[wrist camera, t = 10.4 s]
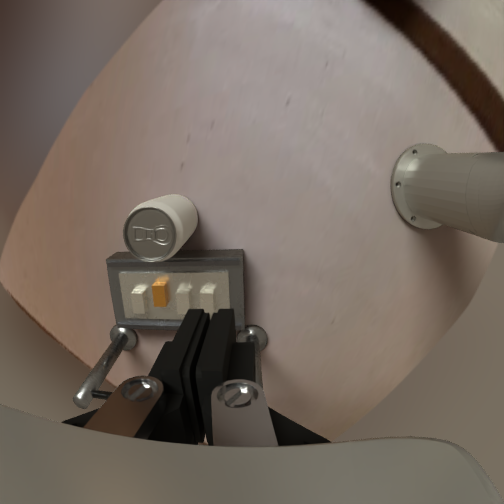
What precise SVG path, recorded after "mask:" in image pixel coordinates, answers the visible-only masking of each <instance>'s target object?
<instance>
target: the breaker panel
mask: <svg viewBox="0 0 504 504" xmlns="http://www.w3.org/2000/svg"><path fill="white" fill-rule="evenodd" d="M106 263H107V270H108V277H109V284H110V290H111V297H112V302H113V308H114V314H115V319H116V324H117V328H128V329H153V330H178V329H179V327H180V325H181V323H182V321H183V319H184V317H185V315H186V313H187V311H188V309H204V312H205V313H209V314H210V321H211V317H212V314H213V313H218V309H232V308H233V309H234V314H235V329H236V330H245V310H244V273H243V249H228V250H183V251H177V252H176V253H175V254H174V255H173V256H172V257H170V258H169V259H167V260H164V261H161V262H144V261H141V260H139V259H137V258H136V257H134V256H133V255H132V254H131V253H130V252H116V253H115V254H113V255H112V256H110V257H109V258H107V259H106Z"/></svg>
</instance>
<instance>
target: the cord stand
mask: <svg viewBox="0 0 504 504" xmlns="http://www.w3.org/2000/svg"><path fill="white" fill-rule="evenodd" d="M110 338H111V341H112V343H111V344H110V345H109V347H108V348H107V350H106V351H105V352H104V354H103V355H102V357H101V358H100V359H99V361H98V362H97V364H96V365H95V367H94V368H93V369H92V371H91V372H90V374H89V375H88V377H87V378H86V380H85V381H84V382H83V384H82V385H81V387H80V388H79V390H78V391H77V393H76V394H75V396H74V397H73V401H74V403H75V404H76V405H77V406H78V407H79V408H82V409H86V408H87V407H88V406H89V404H90V402H91V401H92V399H93V398H98V399H105V400H107V399H108V398H109V396H110V395H111V394H112V393H113V392H106V391H99V390H98V389H99V387H100V386H101V384H102V382H103V381H104V379H105V378H106V376H107V374H108V373H109V371H110V369H111V368H112V366H113V365H114V363H115V361H116V360H117V358H118V357H119V355H120V354H121V352H122V350H130V349H132V348H133V347H134V346H135V344H136V342H137V335H136V332H135V331H134V330H133V329H128V328H117V325H115V326H114V327H113V328H112V330H111V331H110ZM237 342H254V343H255V365H256V383H257V384H258V385H259V386H260V387H261V388H262V389H263V383H262V371H261V358H260V351H261V350H263V349H264V348H265V346H266V344H267V334H266V332H265V331H264V329H263V328H261V327H259V326H257V325H248V326H245V330H240V331H239V333H238V335H237Z"/></svg>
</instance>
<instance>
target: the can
mask: <svg viewBox="0 0 504 504" xmlns="http://www.w3.org/2000/svg"><path fill="white" fill-rule="evenodd" d="M197 223H198V216H197V211H196V208H195V206H194V205H193V203H192V202H191V201H190V200H189V199H188V198H186V197H184V196H182V195H178V194H170V195H166V196H162V197H159V198H155V199H152V200H149V201H146V202H144V203H141V204H140V205H138V206H137V207H135V208H134V209H133V210H132V211H131V213H130V214H129V216H128V218H127V220H126V222H125V224H124V229H123V237H124V242H125V245H126V247H127V249H128V250H129V251H130V253H131V254H132V255H133V256H134V257H136V258H137V259H139V260H141V261H144V262H161V261H164V260H167V259H169V258H170V257H172V256H173V255H174V254H175V253H176V252H177V251H178V250H179V249H180V248H181V247H182V246H183V245H184V243H185V242H186V241H187V240H188V239H189V237H190V236H191V235H192V234H193V232H194V231H195V229H196V227H197Z"/></svg>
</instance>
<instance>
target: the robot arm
mask: <svg viewBox="0 0 504 504" xmlns="http://www.w3.org/2000/svg"><path fill="white" fill-rule="evenodd" d="M412 151H413V153H412ZM396 183H397V186H396ZM391 193H392V198H393V201H394V204H395V206H396V209H397V211H398V212H399V213H400V215H401V216H402V217H403V218H404V219H405V220H406V221H407V222H408V223H410V224H411V225H413V226H415V227H418V228H421V229H434V228H438V227H440V226H442V225H446V226H449V227H452V228H455V229H458V230H461V231H464V232H467V233H470V234H473V235H476V236H479V237H481V238H484V239H488V240H490V241H493V242H498V243H504V152H491V153H447V152H446V151H444V150H443V149H442V148H440V147H438V146H436V145H432V144H418V145H415V146H412V147H410V148H408V149H407V150H405V151H404V152H403V153H402V154H401V155H400V157H399V158H398V160H397V162H396V164H395V166H394V169H393V172H392V177H391ZM411 217H412V219H411ZM205 433H206V438H207V442H208V445H198V442H200V443H203V442H204V438H205ZM0 504H504V501H503V499H502V497H501V495H500V494H499V492H498V490H497V489H496V487H495V485H494V484H493V482H492V481H491V479H490V478H489V476H488V475H487V473H486V472H485V470H484V469H483V468H482V467H481V465H480V464H479V463H478V462H477V460H475V458H474V457H473V456H472V455H471V454H470V453H469V452H467V451H466V450H465V449H464V448H462V447H460V446H459V445H457V444H455V443H452V442H450V441H446V440H441V439H435V438H426V437H412V436H410V437H384V438H370V439H361V440H352V441H343V442H330V441H329V440H327V439H325V438H323V437H322V436H320V435H318V434H316V433H314V432H312V431H310V430H308V429H306V428H305V427H303V426H301V425H299V424H297V423H295V422H294V421H292V420H290V419H288V418H287V417H285V416H283V415H281V414H280V413H278V412H276V411H274V410H273V409H271V408H269V407H268V406H267V402H266V398H265V394H264V391H263V389H262V388H261V387H260V386H259V385H258V384H257V383H256V365H255V343H254V342H236V329H235V314H234V309H233V308H232V309H218V313H213V314H212V317H211V321H210V314H209V313H205V312H204V309H188V311H187V313H186V315H185V317H184V319H183V321H182V323H181V325H180V327H179V329H178V331H177V333H176V335H175V337H174V340H173V341H167V342H165V344H164V346H163V348H162V350H161V351H160V353H159V355H158V357H157V359H156V361H155V363H154V365H153V367H152V369H151V371H150V373H149V375H148V376H135V377H132V378H129V379H127V380H125V381H123V382H122V383H121V384H120V385H119V386H118V387H117V388H116V389H115V391H114V392H113V393H112V394H111V395H110V396H109V398H108V399H107V400H106V401H105V403H104V404H103V405H102V406H101V407H100V408H98V409H96V410H93V411H91V412H88V413H85V414H82V415H80V416H77V417H74V418H71V419H68V420H65V421H63V422H57V421H53V420H49V419H46V418H43V417H39V416H36V415H33V414H30V413H26V412H24V411H20V410H18V409H14V408H11V407H8V406H5V405H2V404H0Z"/></svg>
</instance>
